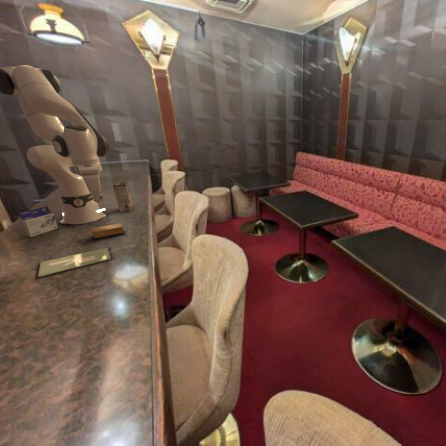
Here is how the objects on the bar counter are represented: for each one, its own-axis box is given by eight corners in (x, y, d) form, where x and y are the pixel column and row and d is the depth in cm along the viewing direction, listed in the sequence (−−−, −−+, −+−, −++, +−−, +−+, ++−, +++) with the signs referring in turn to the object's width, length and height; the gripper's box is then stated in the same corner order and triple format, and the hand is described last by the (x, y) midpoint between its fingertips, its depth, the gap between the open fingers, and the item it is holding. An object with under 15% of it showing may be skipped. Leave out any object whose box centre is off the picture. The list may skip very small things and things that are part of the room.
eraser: (94, 236, 114) (91, 228, 112) (122, 230, 121) (120, 223, 119) (94, 240, 110) (92, 232, 109) (124, 234, 117) (122, 226, 116)
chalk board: (41, 263, 91) (40, 262, 91) (107, 248, 104) (107, 247, 104) (38, 277, 83) (37, 276, 83) (110, 259, 96) (110, 258, 95)
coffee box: (120, 207, 152) (113, 182, 146) (132, 206, 155) (126, 181, 149) (119, 212, 145) (112, 185, 139) (132, 210, 148) (126, 184, 142)
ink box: (31, 237, 110) (21, 213, 106) (27, 237, 111) (17, 213, 106) (59, 228, 121) (51, 206, 117) (55, 227, 121) (47, 205, 117)
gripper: (77, 164, 109) (87, 195, 114) (78, 171, 94) (89, 205, 99) (95, 163, 113) (104, 193, 118) (99, 169, 98) (108, 202, 103)
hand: (97, 198), depth 108 cm, fingers open, 8 cm apart
